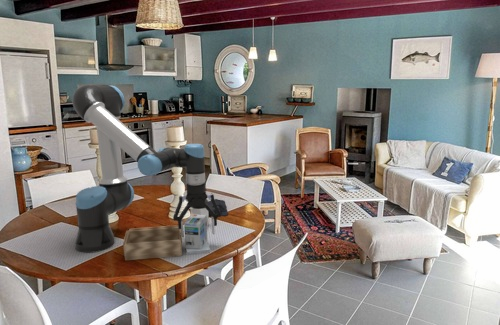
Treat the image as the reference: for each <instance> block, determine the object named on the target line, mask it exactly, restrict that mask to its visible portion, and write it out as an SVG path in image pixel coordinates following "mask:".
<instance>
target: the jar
mask: <svg viewBox="0 0 500 325" xmlns="http://www.w3.org/2000/svg"><path fill="white" fill-rule="evenodd" d="M208 201H209V199H208V198H207V199H206V200H205V202H206V203H207V205H208ZM192 214H195V215H207V226H208V227H209V226H210V220H209V218H210V217H209V213H208V210H207V209H206V208H205V207H204V206H203V205H201V206H191V207H190V216H191V215H192Z"/></svg>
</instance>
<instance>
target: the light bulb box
mask: <svg viewBox="0 0 500 325" xmlns="http://www.w3.org/2000/svg"><path fill="white" fill-rule="evenodd" d="M183 229H184V244H185V245H184V248H185V249H186V248H194V249H201V248H202V246H203V245H204V244H205V242H206V241H207V240H208V227H207V215H195V214H192V215H191V214H190V216H189V217H188V218H187V219H186V220H185V222H184V221H183Z"/></svg>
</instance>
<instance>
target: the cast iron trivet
mask: <svg viewBox="0 0 500 325" xmlns="http://www.w3.org/2000/svg"><path fill="white" fill-rule="evenodd" d="M214 201H215V203H216V205H217V207H218V209H219V211H220V213H221V217H227V216H228V215H229V213H228V212H229V211H228V208H227V205H226V201H225V200H223V199H218V198H214ZM208 206H209V207H210V208H211V209H212V211H213V212H214V213H215V214H217V212H216V210H215V208H214V206H213V204H212V201H211V200H208ZM208 213H209V212H208ZM210 217H211V218H212V217H213V216H212V215H211V214H210V213H209V218H210Z"/></svg>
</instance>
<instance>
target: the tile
mask: <svg viewBox="0 0 500 325" xmlns="http://www.w3.org/2000/svg"><path fill="white" fill-rule="evenodd" d="M185 249H186V250H185V251H186V255H187V256H188V255H195V254H196V255H198V254H208V253H210V252H211V248H210V245H209V241H208V239H207V241H206V242H205V244H204V245H203V246H202V248H201V249H194V248H185Z"/></svg>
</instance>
